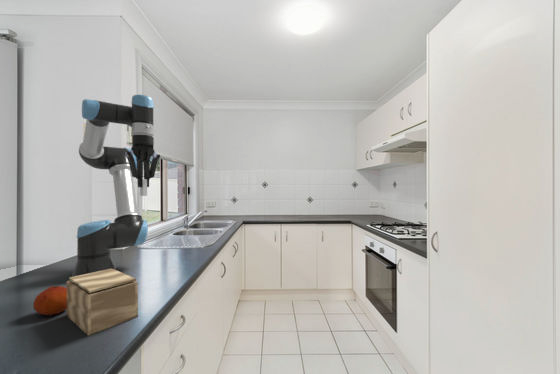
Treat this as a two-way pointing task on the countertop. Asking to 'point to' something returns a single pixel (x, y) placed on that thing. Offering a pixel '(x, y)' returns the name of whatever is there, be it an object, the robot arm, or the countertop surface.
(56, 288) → the fruit
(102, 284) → the flap
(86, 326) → the wooden box
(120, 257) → the countertop surface
